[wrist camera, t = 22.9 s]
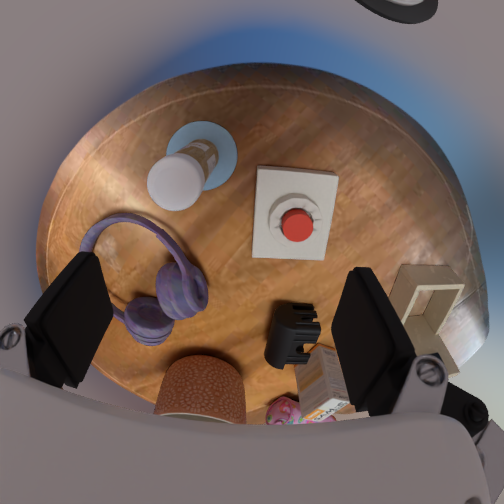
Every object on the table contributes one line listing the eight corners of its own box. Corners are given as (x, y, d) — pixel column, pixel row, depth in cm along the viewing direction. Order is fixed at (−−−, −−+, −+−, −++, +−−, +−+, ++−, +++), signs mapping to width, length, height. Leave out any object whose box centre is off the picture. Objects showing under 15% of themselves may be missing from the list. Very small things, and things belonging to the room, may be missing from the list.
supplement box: (310, 370, 53) (320, 422, 42) (293, 364, 52) (300, 419, 41) (336, 348, 50) (351, 402, 38) (318, 341, 48) (332, 399, 37)
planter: (188, 392, 58) (180, 447, 44) (151, 349, 50) (133, 412, 36) (256, 383, 55) (257, 444, 42) (229, 336, 47) (225, 410, 34)
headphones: (229, 277, 40) (133, 182, 36) (218, 309, 32) (101, 194, 28) (162, 333, 46) (83, 258, 42) (145, 364, 39) (56, 279, 34)
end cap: (272, 298, 43) (275, 328, 37) (314, 301, 43) (323, 330, 38) (263, 340, 48) (264, 369, 42) (300, 342, 48) (305, 370, 42)
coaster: (166, 122, 30) (165, 122, 29) (239, 121, 30) (239, 121, 30) (168, 189, 34) (167, 190, 34) (236, 190, 34) (235, 191, 34)
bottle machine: (401, 264, 40) (449, 330, 26) (448, 265, 41) (495, 321, 27) (378, 322, 47) (408, 388, 33) (424, 318, 47) (457, 375, 33)
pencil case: (336, 410, 64) (342, 436, 57) (311, 421, 68) (314, 447, 60) (290, 388, 57) (294, 421, 49) (262, 402, 60) (263, 433, 52)
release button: (282, 207, 32) (284, 213, 30) (312, 209, 32) (315, 215, 30) (279, 235, 33) (281, 241, 32) (308, 236, 34) (310, 243, 32)
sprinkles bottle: (200, 131, 30) (170, 144, 18) (227, 156, 32) (213, 184, 20) (176, 157, 31) (134, 187, 20) (201, 181, 33) (175, 223, 21)
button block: (257, 165, 33) (258, 172, 29) (334, 172, 33) (343, 180, 30) (251, 249, 39) (252, 264, 35) (320, 252, 39) (326, 267, 35)
